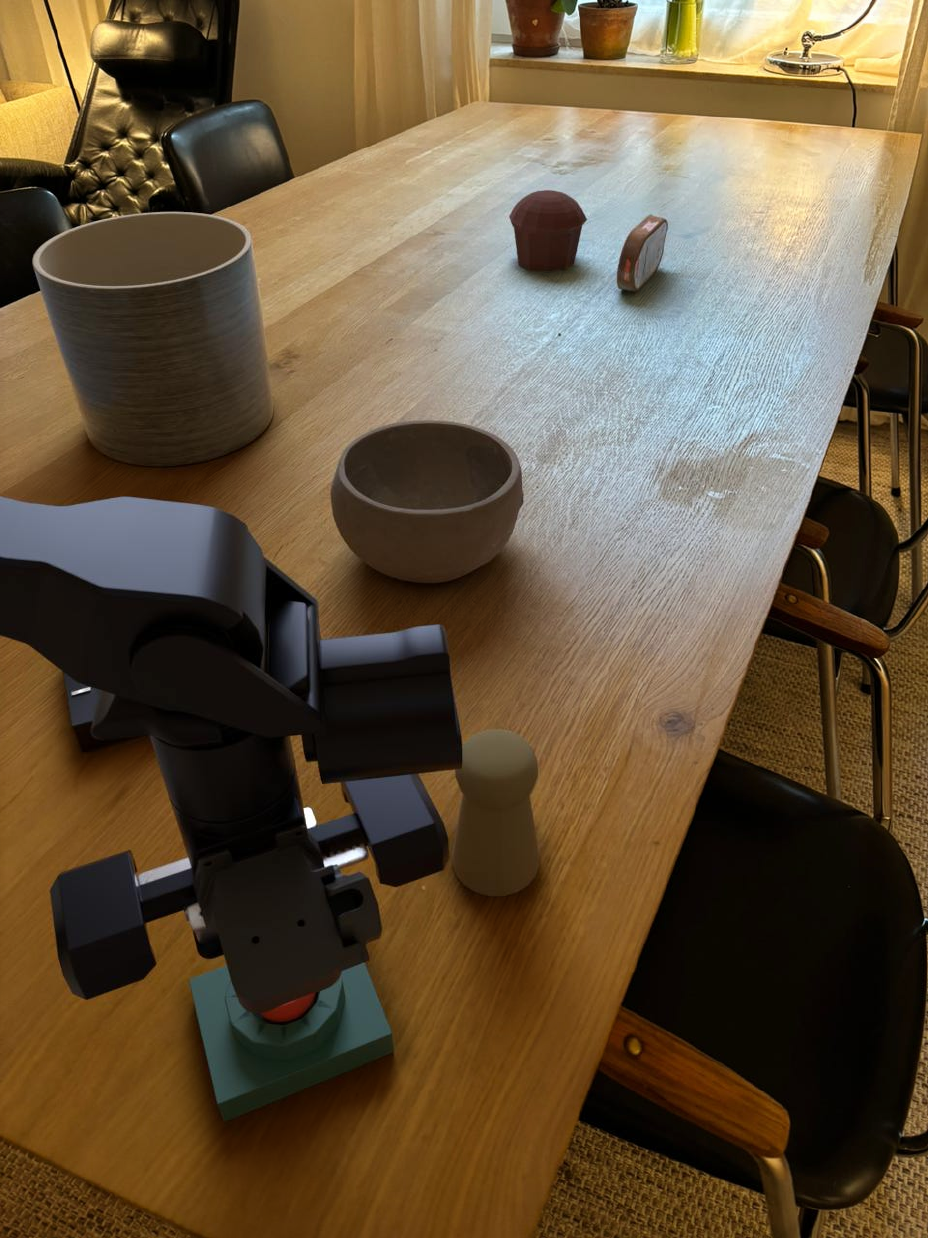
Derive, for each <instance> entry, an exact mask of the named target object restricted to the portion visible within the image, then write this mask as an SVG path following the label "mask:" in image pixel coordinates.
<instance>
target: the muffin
mask: <svg viewBox="0 0 928 1238" xmlns="http://www.w3.org/2000/svg"><path fill="white" fill-rule="evenodd" d="M508 217H509V220H510V223H511V225H512V227H513V232H514V239H515V247H516V255H517V263H518V266H519V267H522V268H525V269H526V270H528V271H531V272H542V273H551V272H559V271H566V270H567V269H568V268H570V267H571V266H574V265H575V263H576V257H577V254H578V249H579V243H580V239H581V233H582V228H583V225H584V224H585V223H586V222H587V220H588V218H587V217H586V214H585V213H584V211H583V209H582V207H581V205H580V204H579V203H578V201H577V200H576V199H574V198H573V197H572V196H570V195H568V194H567V193H565V192H562V191H557V190H552V189H551V190H550V189H545V190H543V189H542V190H537V191H534V192H533V191H532V192H530V193H529V194H526V195H525V196H524V197H522V198H521V199H520V200H518V202H517V203H516V204H515V205H514V207H513V208H512V210H511V212H510V213H509V215H508Z"/></svg>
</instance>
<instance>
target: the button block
mask: <svg viewBox="0 0 928 1238" xmlns="http://www.w3.org/2000/svg"><path fill="white" fill-rule="evenodd" d="M188 984H189V987H190V991H191V996H192V1001H193V1006H194V1009H195V1014H196V1018H197V1023H198V1027H199V1031H200V1035H201V1040H202V1044H203V1049H204V1053H205V1057H206V1061H207V1065H208V1070H209V1073H210V1074H209V1075H210V1079H211V1084H212V1088H213V1092H214V1096H215V1101H216V1105H217V1107H218V1110H219V1113H220V1115H221V1118H222V1120H223V1122H224V1123H225V1122H228V1121H231V1120H234V1119H235V1118H238V1117H241V1116H243V1115H245V1114H248V1113H250V1112H253V1111H255V1110H258V1109H260V1108H262V1107H265V1106H267V1105H269V1104H272V1103H274V1102H277V1101H279V1100H281V1099H284V1098H287V1097H289V1096H292V1095H294V1094H296V1093H299V1092H301V1091H303V1090H306V1089H308V1088H310V1087H311V1088H312V1087H313V1086H315V1085H318V1084H320V1083H323V1082H325V1081H327V1080H330V1079H332V1078H334V1077H337V1076H340V1075H342V1074H344V1073H347V1072H349V1071H352V1070H354V1069H356V1068H359V1067H361V1066H364V1065H366V1064H368V1063H372V1062H374V1061H376V1060H379V1059H382V1058H383V1057H386V1056H388V1055H390V1054H393V1053H395V1048H394V1047H395V1046H394V1038H393V1032H392V1030H391V1027H390V1025H389V1022H388V1020H387V1016H386V1014H385V1012H384V1009H383V1006H382V1004H381V1001H380V999H379V996H378V993H377V991H376V988H375V985H374V982H373V979H372V977H371V975H370V973H369V970H368V967H367V965H366V962H365V963H362V964H359V965H357V966H354V967H352V968H349V969H346V970H344V971H342V973H341V976H340V978H339V979H338V981H337V982H336V983H335V984H334V985H332V986H331V987H329V988H327V989H325V990H322V991H319V992H316V994H315V998H314V1000H313V1002H312V1004H311V1006H310V1007H309V1008H308V1010H307V1011H306V1012H305V1013H304V1014H302V1015H301V1016H299V1017H298V1018H296V1019H294V1020H291V1021H287V1022H273V1021H270V1020H267V1019H265V1018H264V1017H262V1016H261V1015H260V1014H255V1013H251V1012H248V1011H246V1010H245V1009H244V1008H243V1007H242V1006H241V1004H240V1003H239V1001H238V998H237V996H236V993H235V991H234V988H233V985H232V982H231V978H230V975H229V971H228V968H227V965H223V966H221V967H217V968H215V969H213V970H211V971H208V972H205V973H202V974H200V975H199V974H198V975H197V976H194V977H192V978H189V979H188Z"/></svg>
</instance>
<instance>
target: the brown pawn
mask: <svg viewBox="0 0 928 1238" xmlns="http://www.w3.org/2000/svg"><path fill="white" fill-rule="evenodd" d="M538 764H539V763H538V759H537V755H536V753H535V751H534V749H533V747H532V745H531V744H530V743H529V742H528V741H526V740H525V739H524V738H523V737H522V736H521V735H519V734H517V733H516V732H513V731H512V730H511V731H510V730H506V729H502V728H501V729H499V728H498V729H495V728H492V729H487V730H482V731H479V732H478V733H476V734H474V735H471V737H469V738H468V739H467V740H466V741H465V742H464V743H462V768H461V769H456V770H454V773H455V775H454V776H455V777H454V778H455V779H456V782H457V785H458V787H459V790H460V792H461V793H462V794H461V795H462V796H461V800H460V801H461V802H460V807H459V813H458V817H457V824H456V829H455V836H454V841H453V848H452V851H451V852H452V853H451V866H452V869H453V871H454V874H455V877H456V878H457V879H458V880H459V881H460V882H461V883H462V885H463V886H465V887H466V888H468V889H469V890H471V891H473V892H474V893H477V894H480V895H482V896H486V897H506V896H510V895H513V894H517V893H519V892H521V891H522V890H524V889H525V888H526V887H528V886H529V885H530V884H531V883H532V881H533V880H534V879H535V878H536V877H537V874H538V871H539V868H540V864H541V863H540V851H539V843H538V838H537V832H536V826H535V825H536V824H535V819H534V812H533V805H532V799H531V794H532V792H533V790H534V788H535V785H536V782H537V781H538V777H539V776H538V775H539V765H538Z"/></svg>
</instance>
